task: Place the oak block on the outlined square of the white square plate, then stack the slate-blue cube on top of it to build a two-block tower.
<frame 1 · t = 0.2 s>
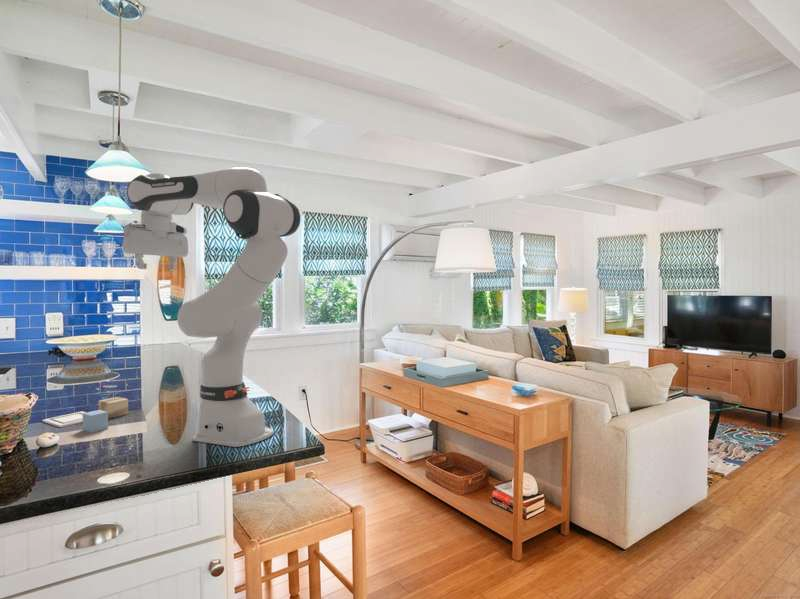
hand: (157, 269, 147), 47 cm above the counter, fingers open, 8 cm apart
blue cube: (95, 429, 134), on the counter
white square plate: (71, 419, 143), on the counter
oak block: (113, 415, 149), on the counter
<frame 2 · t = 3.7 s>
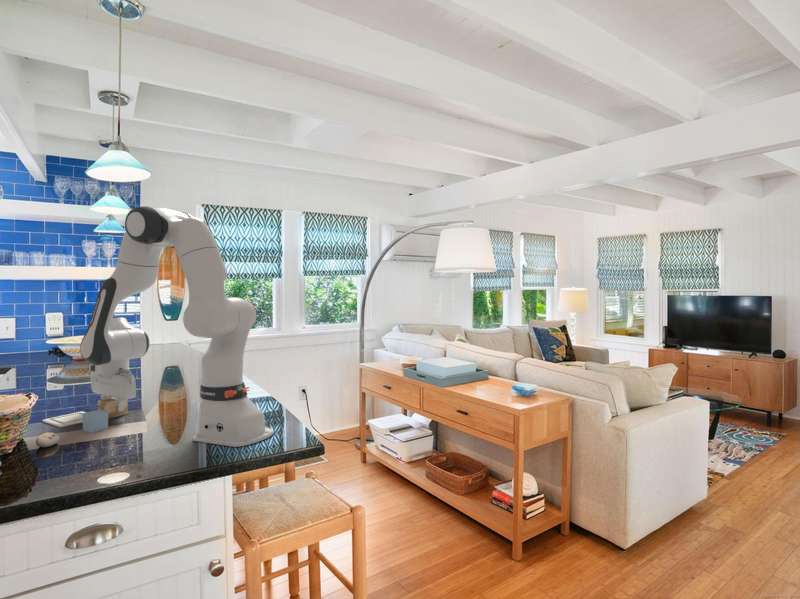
hand: (113, 409, 149), 2 cm above the counter, fingers closed on oak block, 6 cm apart
oak block: (113, 414, 149), on the counter, touching gripper
everything else where it was.
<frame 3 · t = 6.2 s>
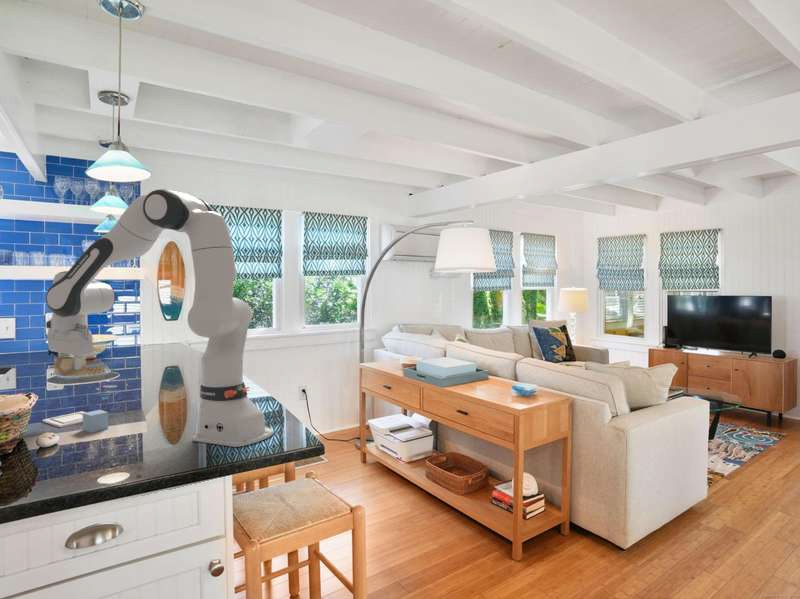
hand: (70, 367, 142), 16 cm above the counter, fingers closed on oak block, 6 cm apart
oak block: (70, 373, 142), point 15 cm above the counter, touching gripper
everything else where it was.
when the fingers open (3 cm above the counter, at t = 9.0 s): oak block stays where it is, resting on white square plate.
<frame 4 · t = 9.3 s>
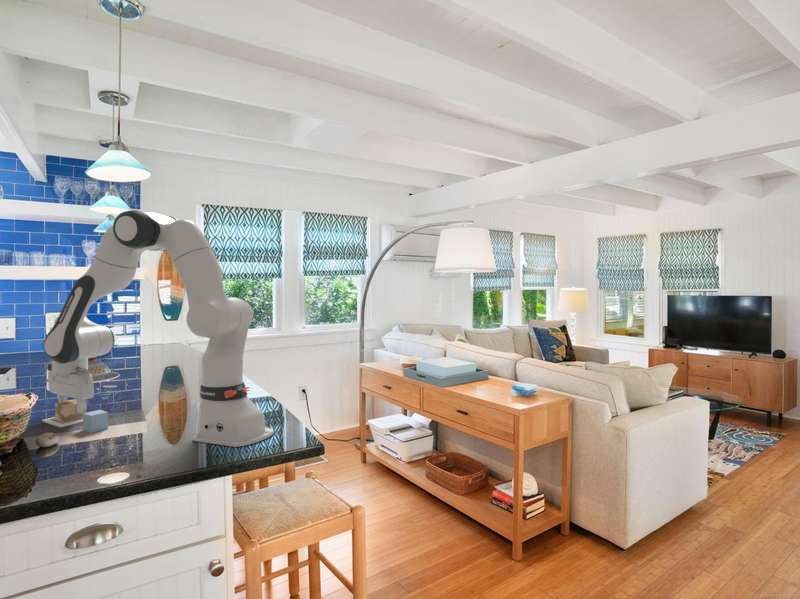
hand: (71, 410, 142), 3 cm above the counter, fingers open, 8 cm apart
oak block: (71, 418, 142), point 1 cm above the counter, touching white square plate
everything else where it was.
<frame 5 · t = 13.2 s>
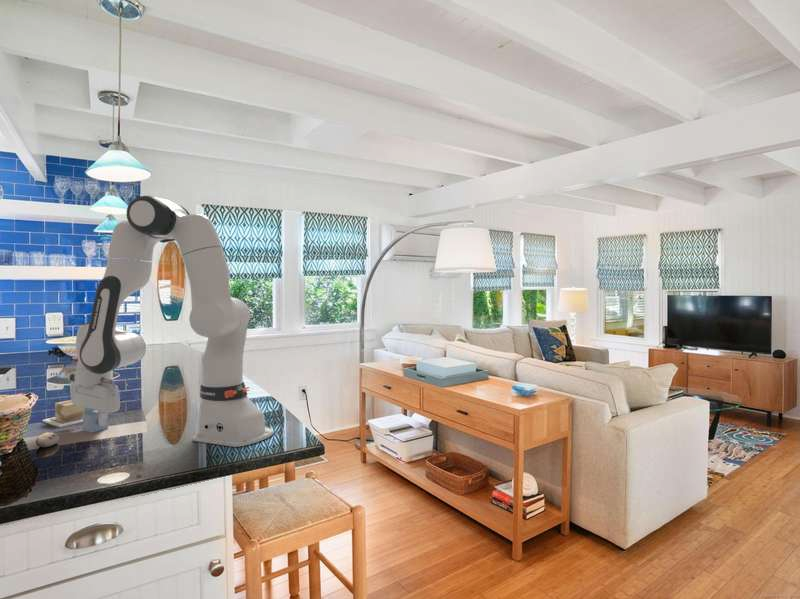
hand: (95, 423, 134), 2 cm above the counter, fingers closed on blue cube, 5 cm apart
blue cube: (95, 429, 134), on the counter, touching gripper
everything else where it was.
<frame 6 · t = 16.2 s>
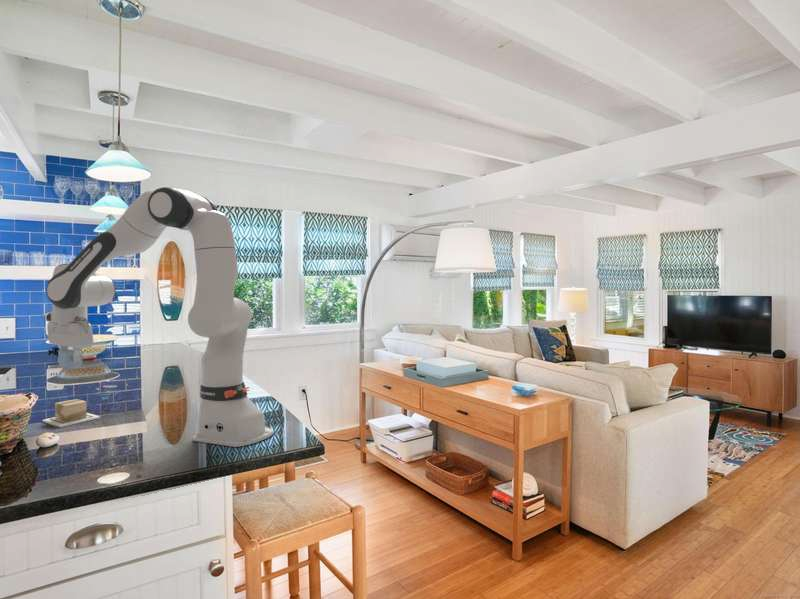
hand: (70, 360, 142), 19 cm above the counter, fingers closed on blue cube, 5 cm apart
blue cube: (70, 366, 142), point 17 cm above the counter, touching gripper
everything else where it was.
when the fingers open (8 cm above the counter, at t = 18.8 s): blue cube stays where it is, resting on oak block.
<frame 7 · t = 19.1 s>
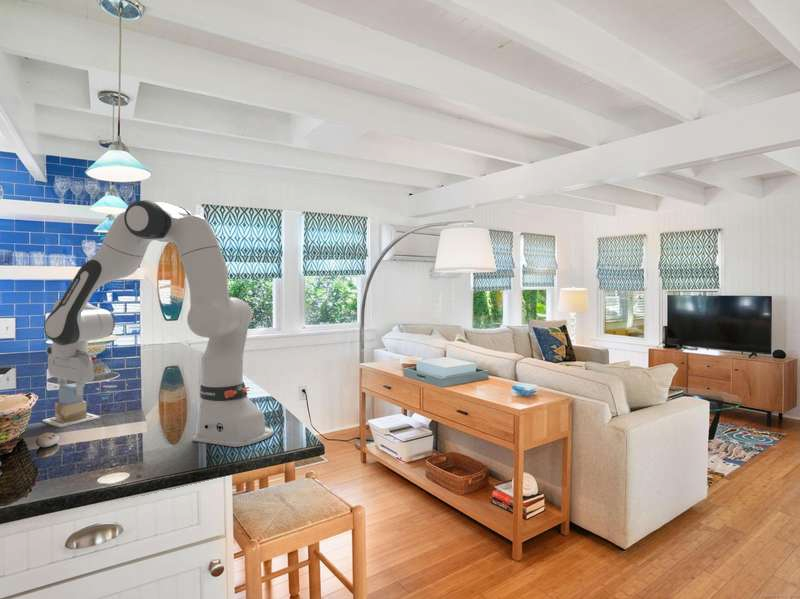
hand: (71, 393, 142), 8 cm above the counter, fingers open, 7 cm apart
blue cube: (71, 402, 142), point 6 cm above the counter, touching oak block
oak block: (71, 418, 142), point 1 cm above the counter, touching blue cube, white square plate
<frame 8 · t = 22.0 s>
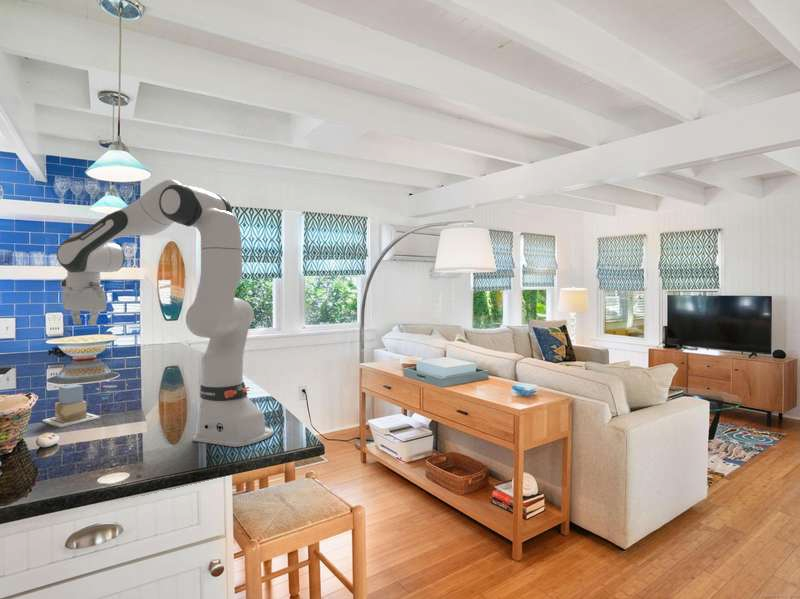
hand: (84, 324, 149), 29 cm above the counter, fingers open, 8 cm apart
nothing on the counter moved.
at the end: oak block 0.2 cm off-centre on the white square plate, point 0.6 cm above the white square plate's base; blue cube 0.1 cm off-centre on the oak block, point 5.0 cm above the oak block's base; blue cube tilted 0° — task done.
